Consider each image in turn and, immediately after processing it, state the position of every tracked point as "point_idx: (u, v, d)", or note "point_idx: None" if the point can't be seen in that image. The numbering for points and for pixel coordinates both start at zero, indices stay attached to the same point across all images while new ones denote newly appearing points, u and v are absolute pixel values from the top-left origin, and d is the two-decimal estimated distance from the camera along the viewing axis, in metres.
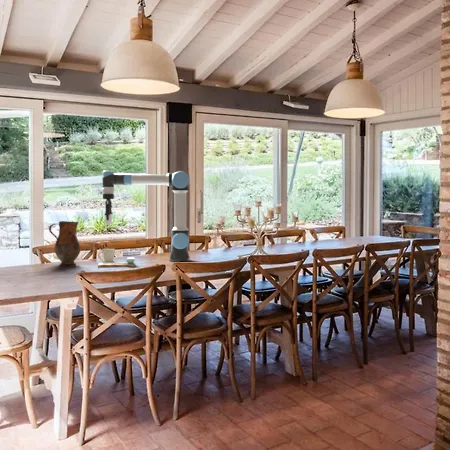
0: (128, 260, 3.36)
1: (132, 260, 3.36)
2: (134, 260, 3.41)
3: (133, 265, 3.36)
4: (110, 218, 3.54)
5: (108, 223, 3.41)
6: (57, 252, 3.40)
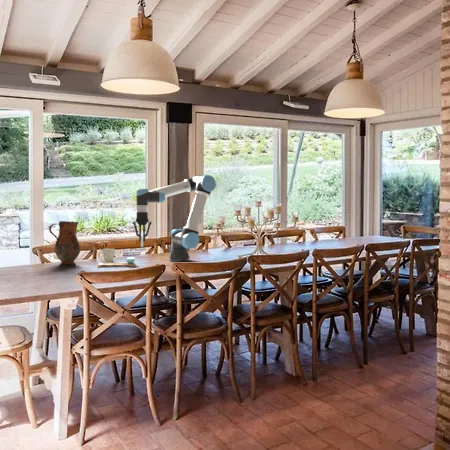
0: (128, 260, 3.36)
1: (132, 260, 3.36)
2: (134, 260, 3.41)
3: (133, 265, 3.36)
4: None
5: None
6: (57, 252, 3.40)
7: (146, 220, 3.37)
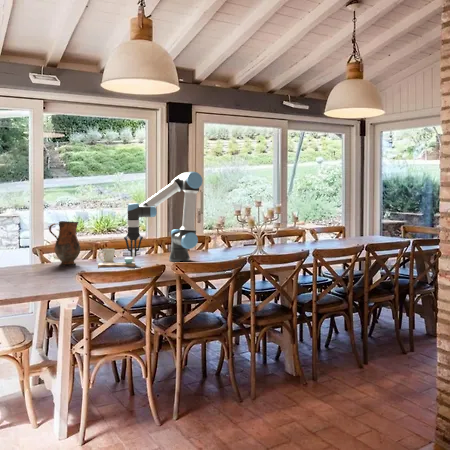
0: (126, 260, 3.36)
1: (130, 260, 3.36)
2: None
3: (133, 265, 3.36)
4: None
5: (132, 259, 3.39)
6: (57, 252, 3.40)
7: (137, 235, 3.37)
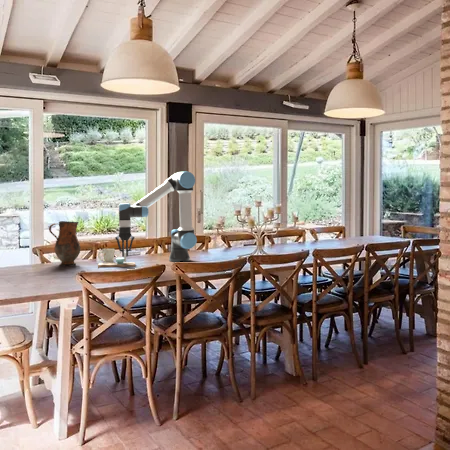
0: (118, 260, 3.35)
1: (122, 260, 3.35)
2: None
3: (133, 265, 3.36)
4: None
5: (124, 260, 3.38)
6: (57, 252, 3.40)
7: (129, 235, 3.37)
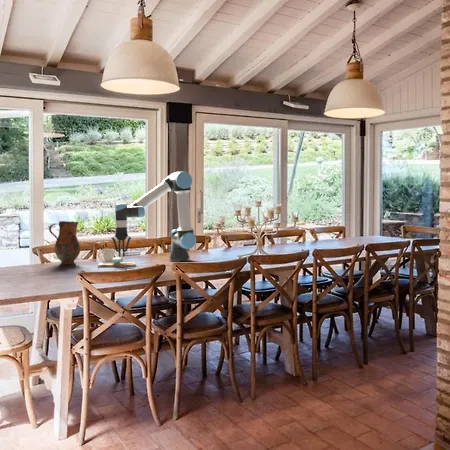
0: (114, 260, 3.35)
1: (118, 260, 3.35)
2: None
3: (133, 265, 3.36)
4: None
5: None
6: (57, 252, 3.40)
7: (125, 235, 3.36)
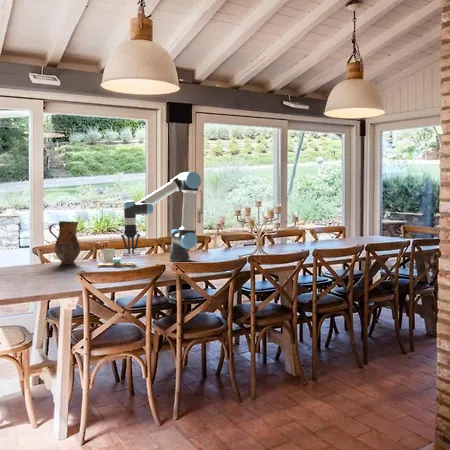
0: (114, 260, 3.35)
1: (118, 260, 3.35)
2: None
3: (133, 265, 3.36)
4: None
5: (130, 257, 3.39)
6: (57, 252, 3.40)
7: (134, 232, 3.37)
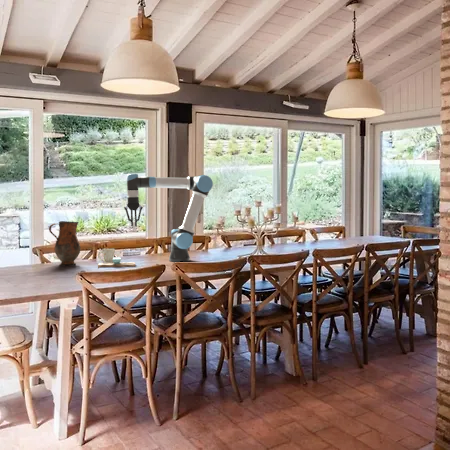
0: (114, 260, 3.35)
1: (118, 260, 3.35)
2: None
3: (133, 265, 3.36)
4: None
5: (133, 229, 3.45)
6: (57, 252, 3.40)
7: (137, 205, 3.44)
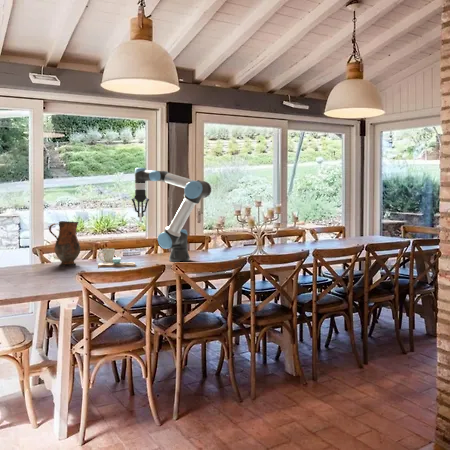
0: (114, 260, 3.35)
1: (118, 260, 3.35)
2: None
3: (133, 265, 3.36)
4: None
5: None
6: (57, 252, 3.40)
7: (144, 197, 3.66)
